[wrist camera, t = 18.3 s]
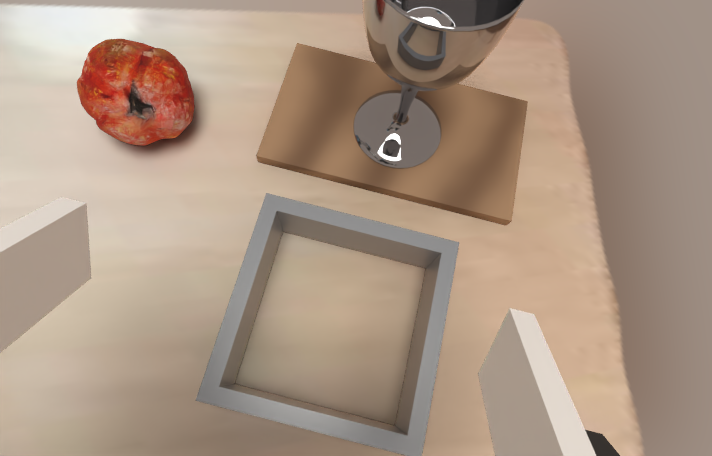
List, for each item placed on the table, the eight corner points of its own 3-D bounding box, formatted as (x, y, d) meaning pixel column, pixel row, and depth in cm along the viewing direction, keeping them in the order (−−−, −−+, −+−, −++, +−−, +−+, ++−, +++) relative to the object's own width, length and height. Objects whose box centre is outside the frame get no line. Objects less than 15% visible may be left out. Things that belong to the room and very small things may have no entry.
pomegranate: (110, 120, 36) (78, 172, 28) (84, 25, 32) (37, 55, 24) (203, 116, 38) (196, 164, 30) (188, 25, 34) (176, 54, 26)
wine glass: (423, 75, 36) (488, -115, 22) (462, 156, 34) (562, 4, 20) (334, 100, 35) (341, -85, 21) (369, 186, 33) (404, 45, 18)
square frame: (214, 395, 28) (195, 400, 24) (274, 216, 32) (266, 193, 28) (406, 445, 28) (421, 459, 24) (441, 259, 32) (459, 242, 28)
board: (258, 161, 34) (256, 155, 33) (297, 51, 37) (297, 42, 36) (506, 225, 34) (511, 221, 33) (522, 108, 37) (527, 101, 36)
